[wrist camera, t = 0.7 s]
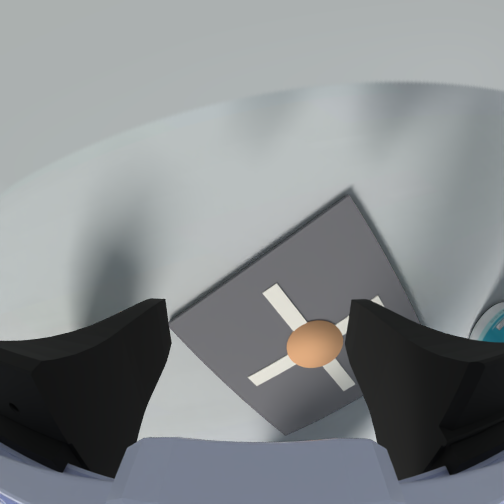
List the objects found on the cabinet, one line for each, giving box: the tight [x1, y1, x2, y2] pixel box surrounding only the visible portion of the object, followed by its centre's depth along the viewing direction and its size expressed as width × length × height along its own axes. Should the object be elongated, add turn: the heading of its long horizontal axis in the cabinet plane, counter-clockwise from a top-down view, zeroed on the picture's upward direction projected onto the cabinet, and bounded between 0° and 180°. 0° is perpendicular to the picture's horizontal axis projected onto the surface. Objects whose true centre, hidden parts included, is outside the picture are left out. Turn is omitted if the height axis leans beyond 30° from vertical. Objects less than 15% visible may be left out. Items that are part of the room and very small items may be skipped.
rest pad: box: [169, 195, 420, 435], centre depth 22 cm, size 16×16×1 cm
